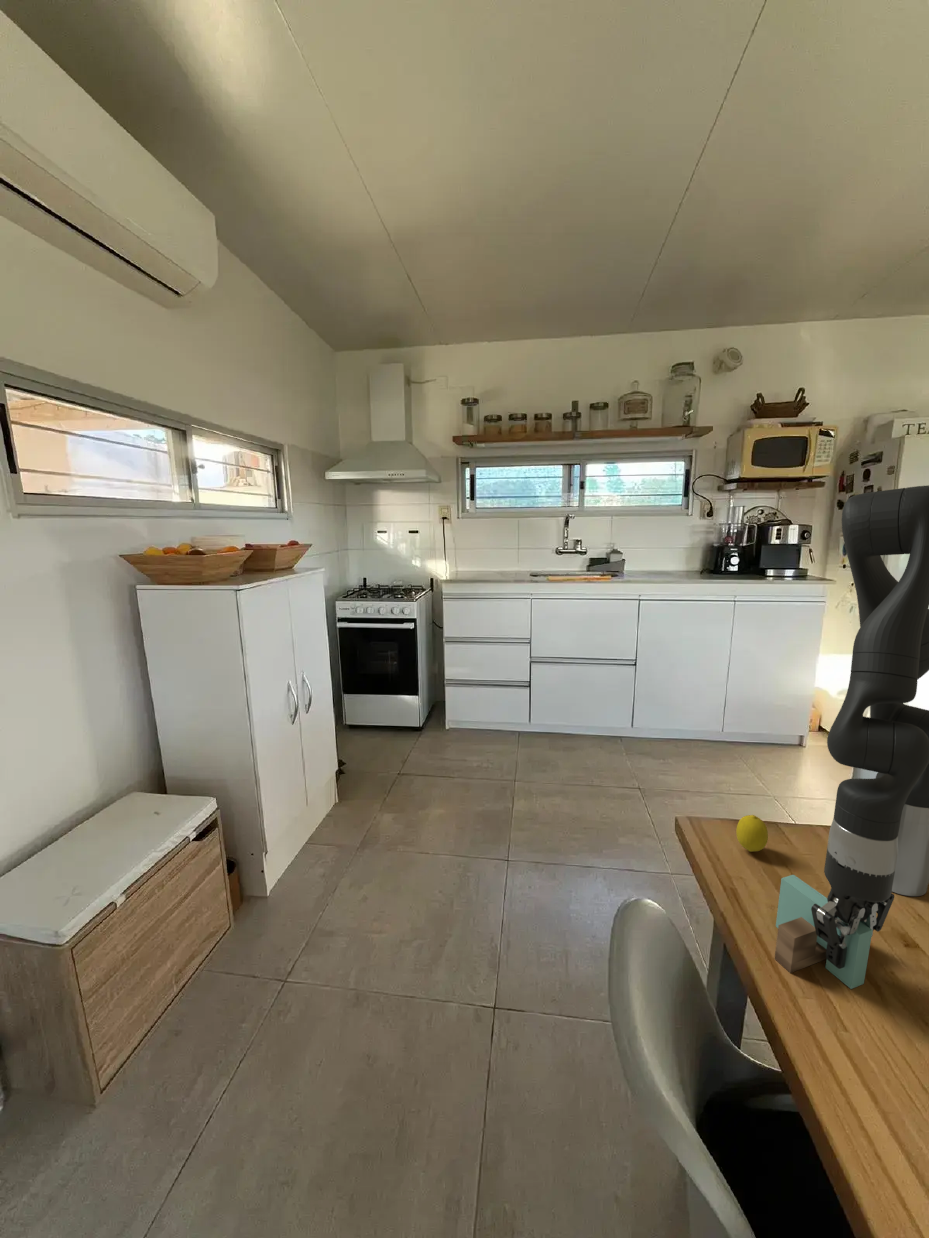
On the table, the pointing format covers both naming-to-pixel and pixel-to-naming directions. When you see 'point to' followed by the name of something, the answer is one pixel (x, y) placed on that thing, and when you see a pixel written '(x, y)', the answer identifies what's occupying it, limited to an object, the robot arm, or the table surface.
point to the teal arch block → (798, 904)
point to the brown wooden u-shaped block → (798, 945)
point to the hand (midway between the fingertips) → (844, 958)
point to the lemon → (752, 833)
